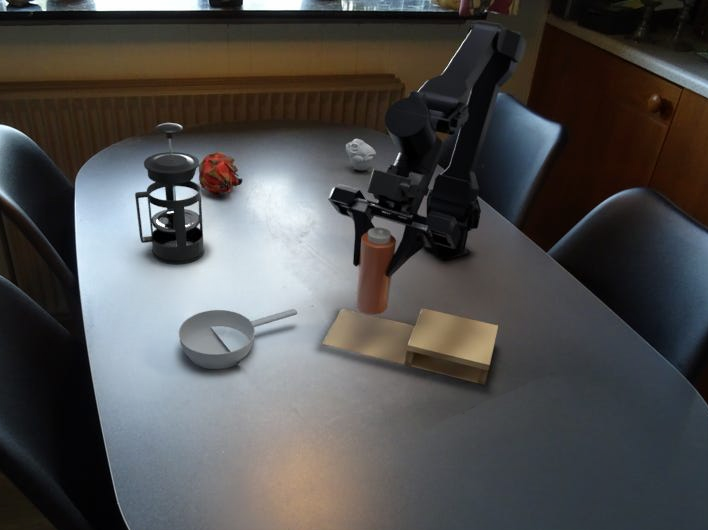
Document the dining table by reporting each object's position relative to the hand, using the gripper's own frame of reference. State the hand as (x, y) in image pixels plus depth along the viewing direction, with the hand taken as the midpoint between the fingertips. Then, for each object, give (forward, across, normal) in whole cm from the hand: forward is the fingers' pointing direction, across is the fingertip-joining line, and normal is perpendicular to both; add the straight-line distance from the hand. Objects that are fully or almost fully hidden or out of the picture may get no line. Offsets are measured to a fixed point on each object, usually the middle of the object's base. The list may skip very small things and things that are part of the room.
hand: (370, 270), depth 94 cm
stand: (+7, +6, +11) cm, 14 cm away
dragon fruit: (-12, -50, +31) cm, 60 cm away
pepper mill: (+4, 0, +6) cm, 7 cm away
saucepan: (+16, -15, +2) cm, 22 cm away
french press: (+5, -40, +13) cm, 43 cm away
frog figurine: (-32, -31, +51) cm, 68 cm away
